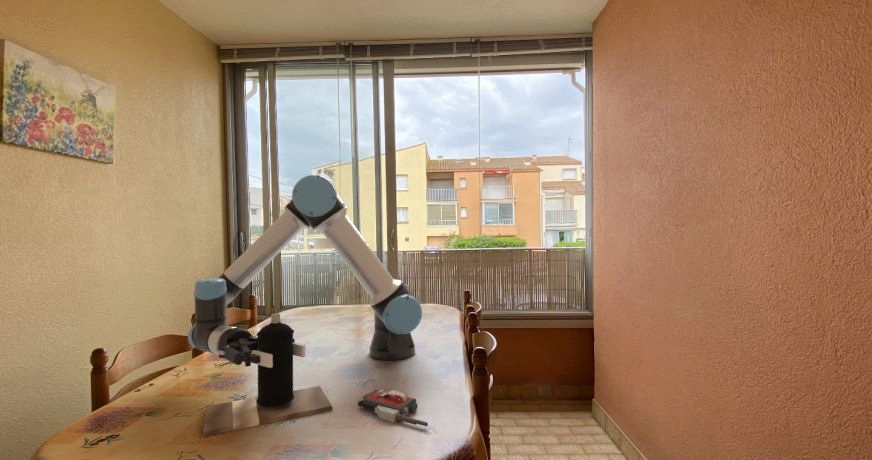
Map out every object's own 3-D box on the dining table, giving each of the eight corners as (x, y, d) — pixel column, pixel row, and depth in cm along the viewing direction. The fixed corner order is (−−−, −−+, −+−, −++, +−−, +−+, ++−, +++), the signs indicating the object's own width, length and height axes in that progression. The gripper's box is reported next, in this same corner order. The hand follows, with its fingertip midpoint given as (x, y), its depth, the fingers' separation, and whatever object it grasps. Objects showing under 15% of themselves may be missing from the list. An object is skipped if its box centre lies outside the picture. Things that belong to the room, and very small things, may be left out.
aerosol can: (301, 395, 100) (301, 312, 100) (277, 409, 93) (277, 319, 93) (274, 391, 103) (273, 309, 103) (248, 404, 96) (248, 316, 95)
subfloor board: (319, 389, 109) (319, 386, 109) (332, 410, 97) (332, 405, 97) (205, 410, 97) (205, 406, 97) (203, 436, 85) (202, 431, 85)
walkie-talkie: (350, 412, 96) (424, 433, 86) (350, 393, 96) (424, 412, 86) (375, 399, 103) (446, 417, 93) (375, 381, 103) (445, 397, 93)
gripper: (267, 347, 117) (324, 360, 104) (189, 368, 99) (245, 387, 87) (267, 320, 117) (323, 330, 104) (188, 336, 99) (245, 350, 87)
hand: (288, 355), depth 95 cm, fingers closed on aerosol can, 8 cm apart
